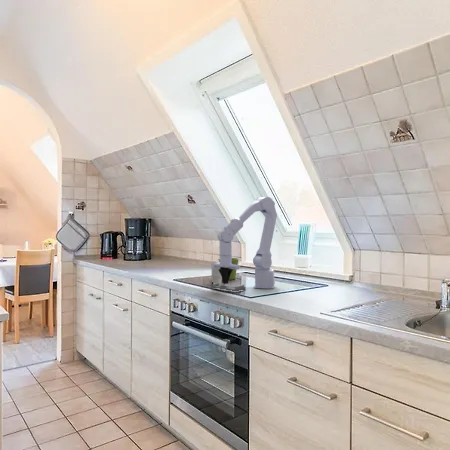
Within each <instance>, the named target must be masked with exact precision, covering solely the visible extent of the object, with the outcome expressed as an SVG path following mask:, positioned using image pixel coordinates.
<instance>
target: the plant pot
mask: <svg viewBox="0 0 450 450" xmlns="http://www.w3.org/2000/svg"><path fill="white" fill-rule="evenodd" d="M217 261H218V262H220V258H217ZM239 261H240V258H238V257H237V258H236V257H232V264H234V265H239ZM237 271H238V269H237V270H235V269H233V271H232V273H231V275H230V277H229V281H233V279H234V280H236V278H237Z"/></svg>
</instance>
